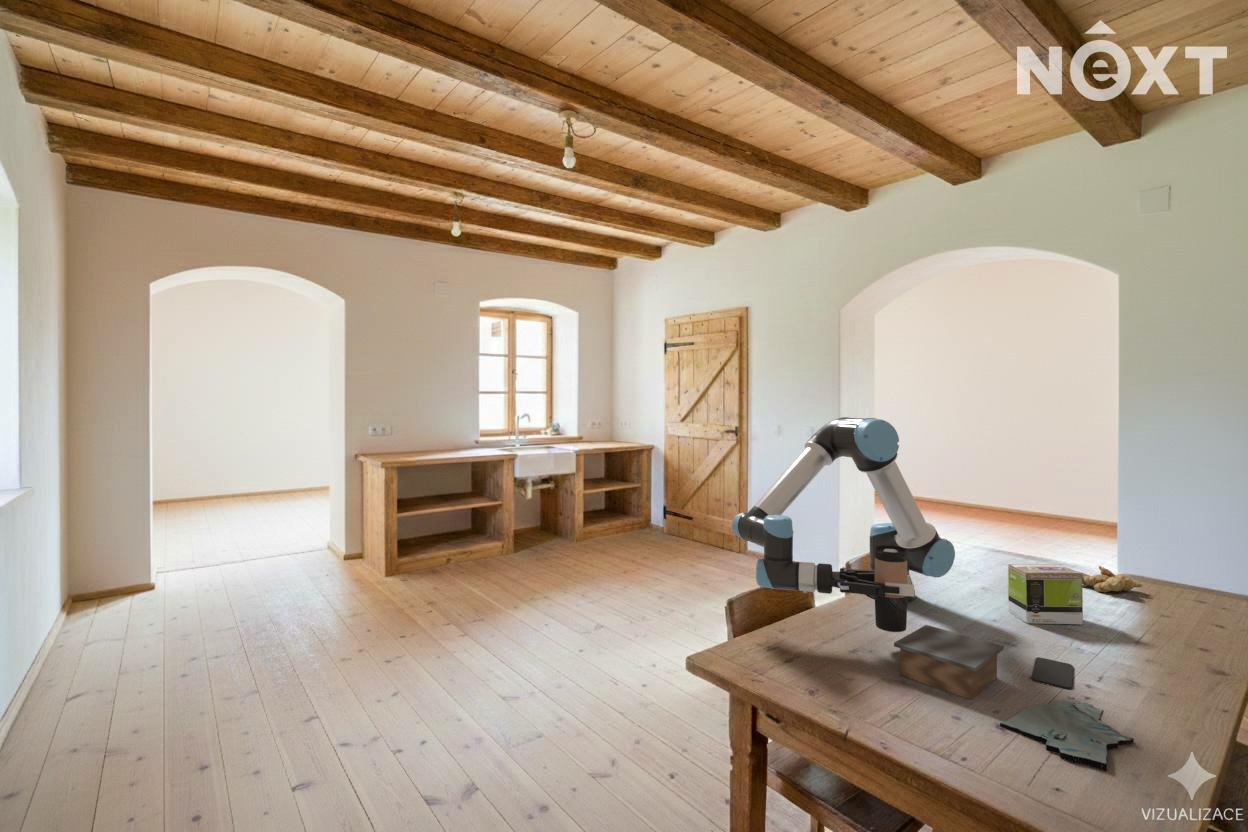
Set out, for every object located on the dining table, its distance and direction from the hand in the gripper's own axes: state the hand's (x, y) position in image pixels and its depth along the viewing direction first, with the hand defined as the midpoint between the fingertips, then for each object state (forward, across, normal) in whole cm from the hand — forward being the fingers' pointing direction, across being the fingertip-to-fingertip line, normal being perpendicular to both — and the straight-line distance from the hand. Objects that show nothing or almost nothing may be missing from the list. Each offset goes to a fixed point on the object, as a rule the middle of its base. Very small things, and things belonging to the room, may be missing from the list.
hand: (912, 585), depth 151 cm
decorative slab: (+24, +30, -17) cm, 42 cm away
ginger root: (+66, -73, -18) cm, 101 cm away
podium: (+6, +13, -16) cm, 22 cm away
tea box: (+38, -36, -17) cm, 56 cm away
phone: (+29, +3, -17) cm, 34 cm away
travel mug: (-5, 0, -11) cm, 12 cm away
